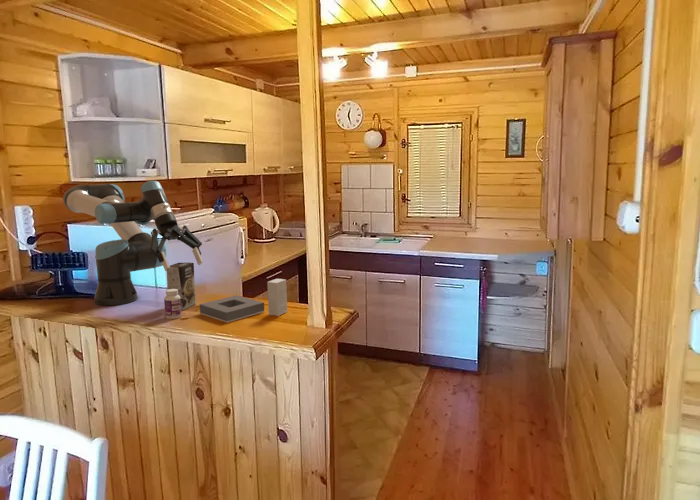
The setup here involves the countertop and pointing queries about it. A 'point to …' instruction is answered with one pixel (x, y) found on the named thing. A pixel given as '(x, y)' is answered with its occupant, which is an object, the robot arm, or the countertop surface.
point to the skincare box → (277, 297)
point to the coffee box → (182, 282)
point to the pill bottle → (172, 304)
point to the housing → (231, 308)
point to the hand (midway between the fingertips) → (184, 266)
